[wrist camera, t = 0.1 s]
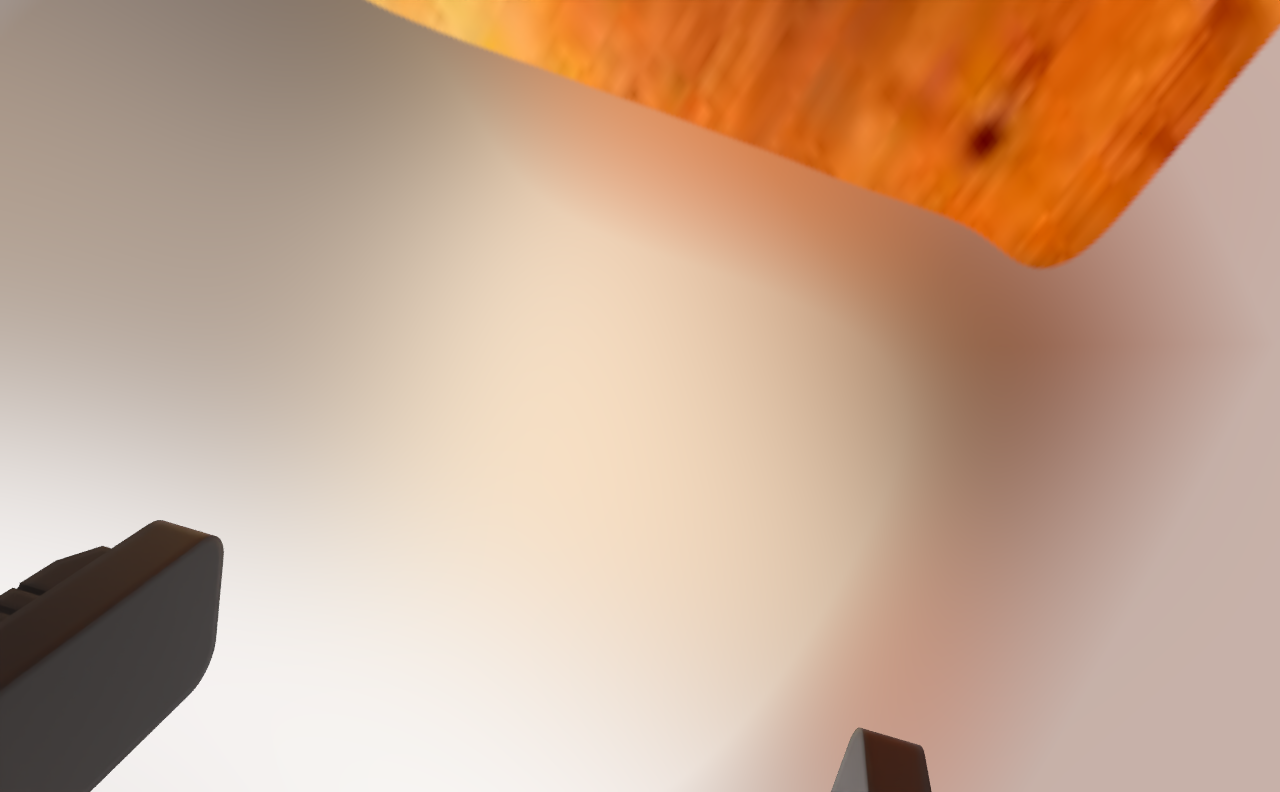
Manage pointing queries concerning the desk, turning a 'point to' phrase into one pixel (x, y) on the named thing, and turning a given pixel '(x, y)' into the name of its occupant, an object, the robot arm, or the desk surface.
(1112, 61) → the desk surface
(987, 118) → the desk surface
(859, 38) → the desk surface
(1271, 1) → the desk surface
